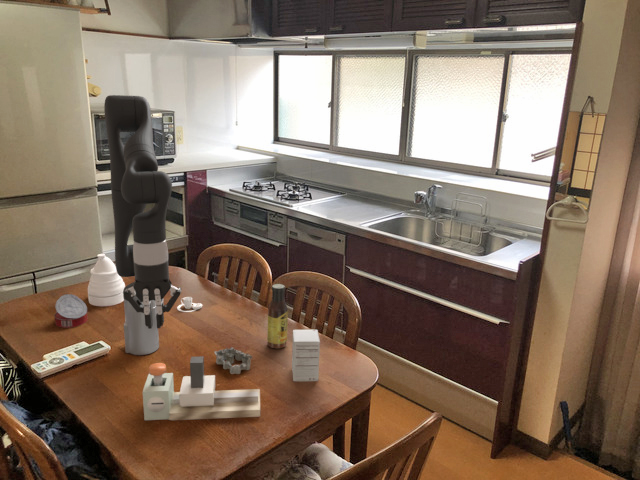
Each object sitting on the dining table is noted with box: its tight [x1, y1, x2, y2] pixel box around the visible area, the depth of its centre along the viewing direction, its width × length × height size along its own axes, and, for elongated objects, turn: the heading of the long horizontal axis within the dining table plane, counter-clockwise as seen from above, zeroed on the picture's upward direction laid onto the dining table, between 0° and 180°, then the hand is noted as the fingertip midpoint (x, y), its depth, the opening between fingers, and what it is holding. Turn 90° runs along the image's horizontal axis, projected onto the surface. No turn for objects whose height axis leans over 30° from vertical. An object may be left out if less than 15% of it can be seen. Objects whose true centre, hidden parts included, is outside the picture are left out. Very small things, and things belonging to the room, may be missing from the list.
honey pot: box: [87, 253, 126, 307], centre depth 190 cm, size 13×13×18 cm
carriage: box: [179, 355, 216, 407], centre depth 130 cm, size 8×8×12 cm
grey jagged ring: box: [214, 346, 253, 375], centre depth 152 cm, size 11×8×4 cm
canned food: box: [54, 293, 89, 329], centre depth 174 cm, size 11×10×10 cm
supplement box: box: [291, 329, 321, 382], centre depth 147 cm, size 7×7×13 cm
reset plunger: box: [148, 362, 167, 386], centre depth 128 cm, size 4×4×6 cm
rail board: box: [168, 388, 261, 421], centre depth 132 cm, size 22×9×4 cm, turn 97°
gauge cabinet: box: [142, 372, 175, 421], centre depth 129 cm, size 6×9×8 cm
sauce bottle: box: [266, 283, 289, 350], centre depth 162 cm, size 7×6×20 cm
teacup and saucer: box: [176, 296, 203, 313], centre depth 188 cm, size 9×8×4 cm
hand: (155, 326), depth 124 cm, fingers closed
